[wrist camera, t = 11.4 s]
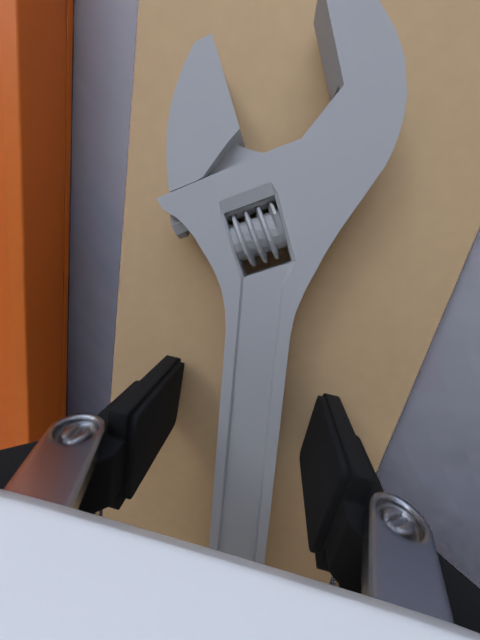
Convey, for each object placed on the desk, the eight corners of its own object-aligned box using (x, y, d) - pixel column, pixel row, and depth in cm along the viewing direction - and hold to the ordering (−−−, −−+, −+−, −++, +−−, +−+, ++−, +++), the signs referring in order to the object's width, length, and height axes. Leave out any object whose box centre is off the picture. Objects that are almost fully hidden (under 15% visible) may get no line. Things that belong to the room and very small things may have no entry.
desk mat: (99, 588, 16) (96, 594, 16) (150, -91, 8) (146, -104, 8) (296, 651, 15) (297, 659, 15) (586, -45, 7) (601, -58, 7)
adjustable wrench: (257, 611, 14) (255, 660, 13) (146, 579, 15) (129, 621, 13) (406, 43, 8) (444, -17, 6) (189, 25, 8) (166, -34, 6)
